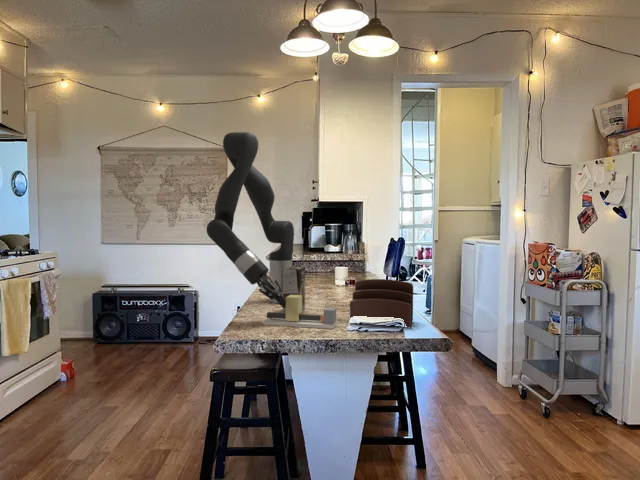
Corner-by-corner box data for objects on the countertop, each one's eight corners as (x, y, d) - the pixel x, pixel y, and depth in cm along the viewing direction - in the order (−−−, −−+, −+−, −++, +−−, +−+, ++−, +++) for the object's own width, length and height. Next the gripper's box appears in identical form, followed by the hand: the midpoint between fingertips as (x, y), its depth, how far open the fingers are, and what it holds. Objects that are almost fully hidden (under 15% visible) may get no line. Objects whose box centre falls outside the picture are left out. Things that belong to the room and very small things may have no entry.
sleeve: (290, 317, 150) (290, 294, 150) (302, 317, 149) (302, 295, 149) (285, 320, 145) (285, 297, 145) (297, 321, 144) (297, 297, 144)
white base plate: (270, 319, 153) (270, 303, 153) (337, 323, 148) (337, 306, 148) (262, 324, 145) (262, 307, 145) (332, 328, 140) (333, 311, 140)
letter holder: (354, 318, 157) (355, 277, 157) (413, 322, 152) (413, 280, 152) (349, 324, 148) (349, 281, 147) (410, 328, 143) (411, 284, 142)
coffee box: (299, 314, 162) (300, 269, 161) (282, 313, 163) (282, 268, 162) (305, 309, 171) (305, 266, 170) (289, 308, 172) (289, 266, 171)
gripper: (251, 261, 143) (288, 301, 140) (265, 257, 155) (299, 294, 153) (235, 277, 144) (272, 317, 142) (251, 272, 157) (284, 309, 155)
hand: (286, 305), depth 148 cm, fingers closed
